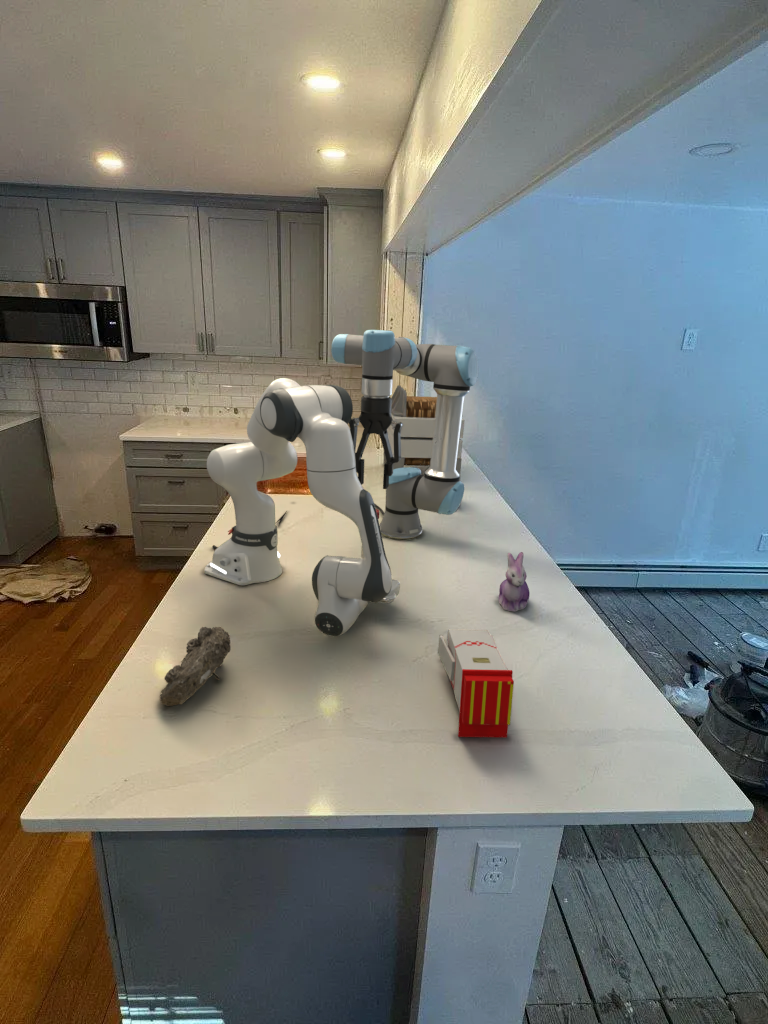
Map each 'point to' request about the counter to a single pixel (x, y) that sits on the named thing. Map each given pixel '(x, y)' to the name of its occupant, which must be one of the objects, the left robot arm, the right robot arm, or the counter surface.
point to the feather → (281, 518)
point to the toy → (478, 682)
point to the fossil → (196, 665)
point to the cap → (377, 513)
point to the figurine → (514, 585)
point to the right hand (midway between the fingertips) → (373, 485)
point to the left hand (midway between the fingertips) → (370, 572)
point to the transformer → (416, 429)
